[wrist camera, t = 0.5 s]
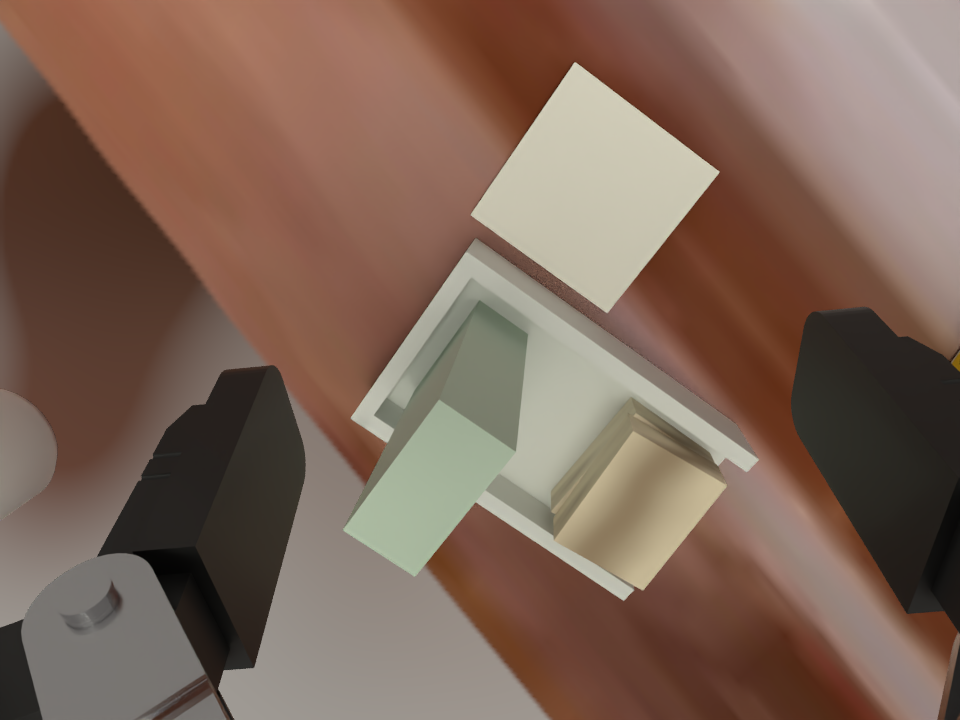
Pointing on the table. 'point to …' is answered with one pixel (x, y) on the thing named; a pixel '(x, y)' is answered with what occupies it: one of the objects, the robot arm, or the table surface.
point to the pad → (593, 189)
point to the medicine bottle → (956, 361)
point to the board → (445, 443)
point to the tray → (546, 393)
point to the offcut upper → (637, 502)
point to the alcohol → (23, 452)
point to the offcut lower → (588, 457)
